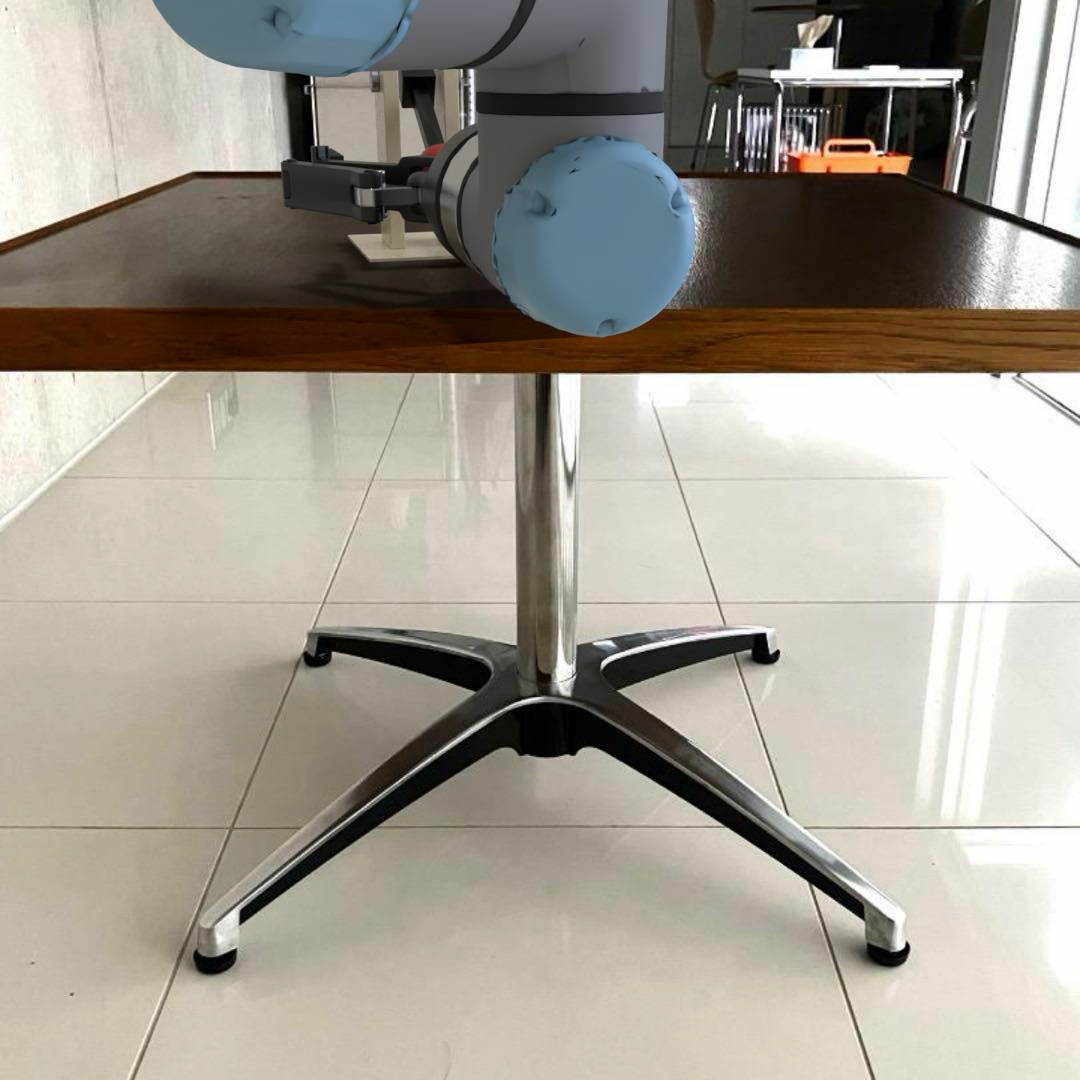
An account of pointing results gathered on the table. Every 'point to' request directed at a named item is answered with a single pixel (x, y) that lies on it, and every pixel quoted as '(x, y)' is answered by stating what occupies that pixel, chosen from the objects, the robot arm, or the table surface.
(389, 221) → the bracket
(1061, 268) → the table surface
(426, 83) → the lever
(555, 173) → the robot arm
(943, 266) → the table surface
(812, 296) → the table surface
